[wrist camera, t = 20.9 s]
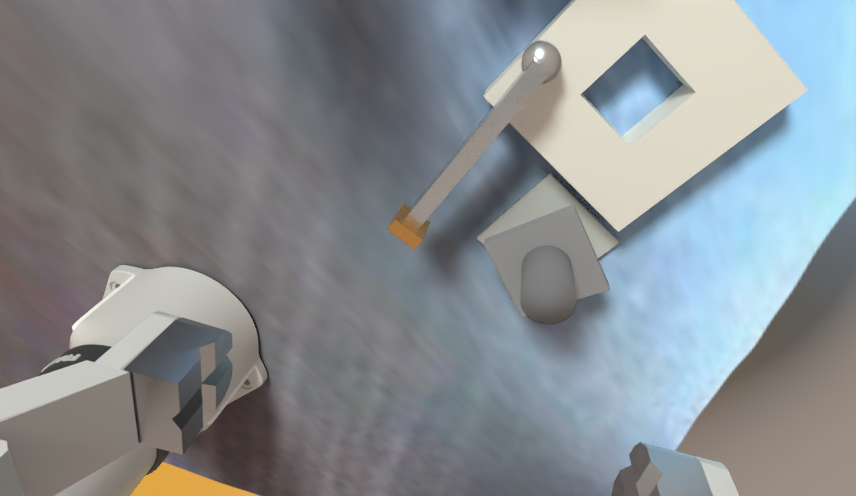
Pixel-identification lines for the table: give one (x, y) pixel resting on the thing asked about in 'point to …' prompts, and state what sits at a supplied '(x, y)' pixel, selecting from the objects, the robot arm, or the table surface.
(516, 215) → the mat
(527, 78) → the ball-tipped lever rod
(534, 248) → the plug
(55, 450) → the robot arm
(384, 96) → the table surface
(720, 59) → the socket
